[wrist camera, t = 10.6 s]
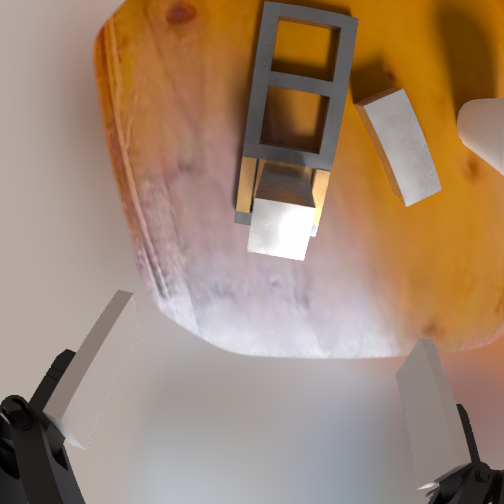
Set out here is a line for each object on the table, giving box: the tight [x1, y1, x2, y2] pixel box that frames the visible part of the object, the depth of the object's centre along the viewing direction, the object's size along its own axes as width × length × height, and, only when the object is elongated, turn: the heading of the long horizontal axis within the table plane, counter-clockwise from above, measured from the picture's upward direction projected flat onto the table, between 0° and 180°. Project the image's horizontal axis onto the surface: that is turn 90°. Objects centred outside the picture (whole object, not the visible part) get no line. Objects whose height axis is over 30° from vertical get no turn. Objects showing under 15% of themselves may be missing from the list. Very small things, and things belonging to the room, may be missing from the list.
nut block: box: [354, 88, 442, 207], centre depth 27 cm, size 11×4×4 cm, turn 31°
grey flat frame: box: [234, 1, 358, 236], centre depth 28 cm, size 24×9×2 cm, turn 172°
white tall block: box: [247, 163, 316, 260], centre depth 27 cm, size 4×4×11 cm
